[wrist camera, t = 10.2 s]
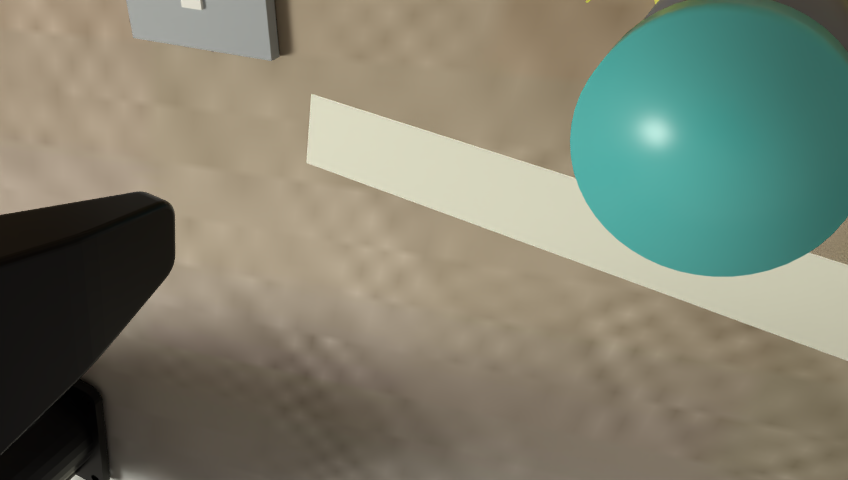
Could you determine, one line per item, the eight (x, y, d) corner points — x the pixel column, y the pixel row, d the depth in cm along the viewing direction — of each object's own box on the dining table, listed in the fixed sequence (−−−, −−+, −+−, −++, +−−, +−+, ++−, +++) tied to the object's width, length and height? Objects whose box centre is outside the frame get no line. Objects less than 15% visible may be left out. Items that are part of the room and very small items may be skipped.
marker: (811, 145, 18) (792, 316, 13) (632, 85, 19) (542, 219, 14) (907, -44, 16) (933, 67, 10) (694, -100, 17) (614, -26, 11)
